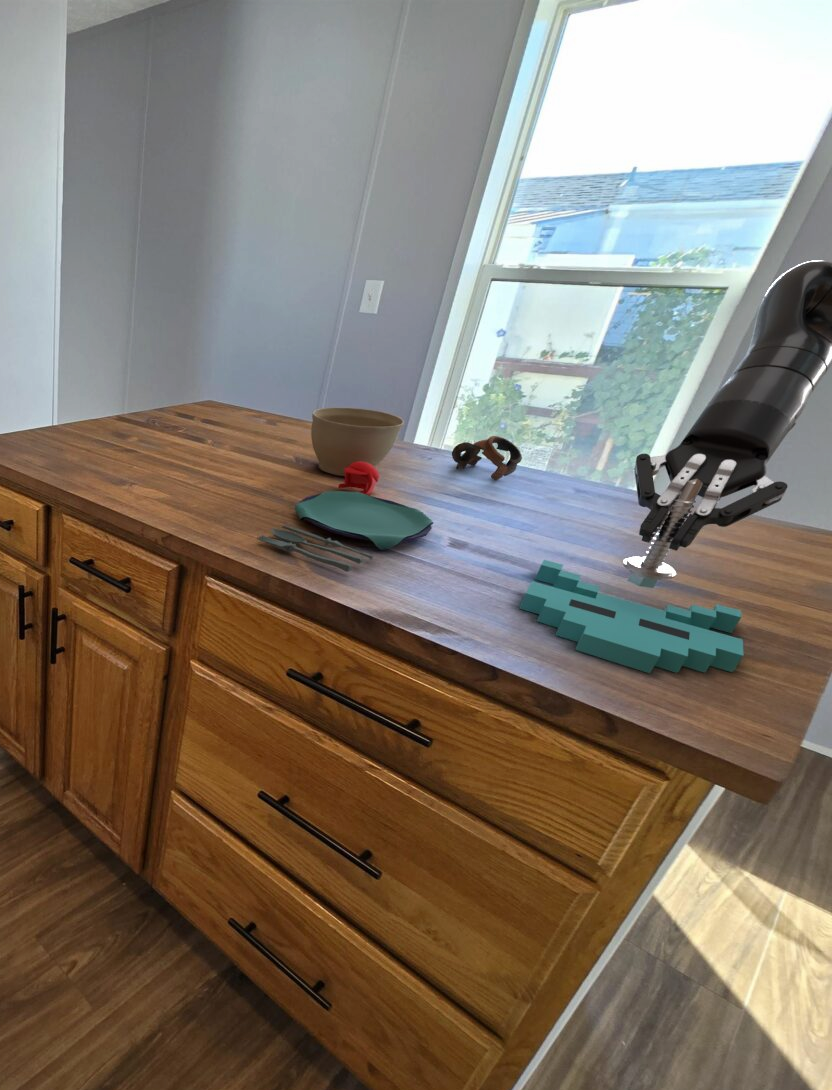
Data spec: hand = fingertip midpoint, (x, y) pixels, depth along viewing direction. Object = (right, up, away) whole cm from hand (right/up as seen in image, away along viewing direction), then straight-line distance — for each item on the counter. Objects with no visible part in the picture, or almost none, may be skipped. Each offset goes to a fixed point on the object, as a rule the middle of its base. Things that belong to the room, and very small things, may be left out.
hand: (660, 542), depth 74 cm
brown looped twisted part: (+18, +19, +57) cm, 62 cm away
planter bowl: (-9, +19, +57) cm, 61 cm away
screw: (+2, -5, +4) cm, 6 cm away
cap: (-12, +13, +45) cm, 49 cm away
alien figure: (0, -10, +5) cm, 11 cm away
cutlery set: (-22, +4, +30) cm, 37 cm away
